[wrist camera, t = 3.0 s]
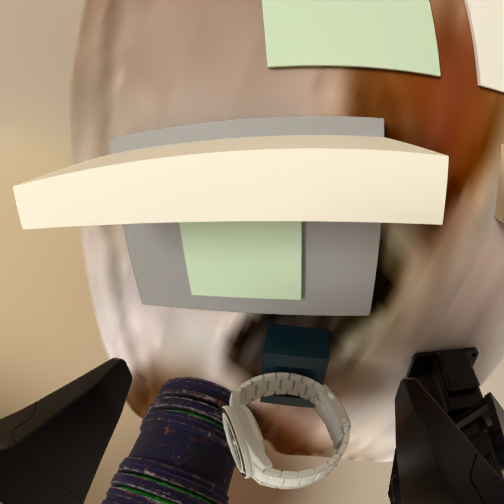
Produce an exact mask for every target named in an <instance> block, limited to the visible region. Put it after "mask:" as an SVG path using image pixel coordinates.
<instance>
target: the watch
mask: <svg viewBox="0 0 504 504" xmlns="http://www.w3.org/2000/svg"><path fill="white" fill-rule="evenodd" d="M328 362H329V330H327V329H316V328H305V327H295V326H285V325H276V324H270V325H269V329H268V334H267V338H266V342H265V347H264V351H263V364H262V375H260V376H257V377H254V378H252V379H251V381H250V380H248V381H246V382H245V383H243V384H242V385H240V387H238V388H237V389H236V390H235V391H234V392H232V393H231V396H230V402H229V406H227V405H226V406H223V407H222V418H223V424H224V429H225V433H226V437H227V441H228V444H229V447H230V450H231V453H232V455H233V458H234V460H235V463H236V465H237V467H238V469H239V471H240V472H241V474H242V475H243V476H244V478H250V477H252V478H253V479H254V480H256V481H257V482H258V483H259V484H261V485H264V486H268V487H272V488H277V487H278V488H279V489H293V487H294V488H301V487H305V486H308V485H311V484H313V483H315V482H317V481H319V480H321V479H322V477H325V476H326V475H328V474H329V473H330V472H331V471H332V470H333V468H334V467H335V466H336V465H337V463H338V461H339V460H340V458H341V456H342V454H343V453H344V451H345V449H346V447H347V444H348V442H349V433H350V427H351V423H350V421H349V418H348V416H347V413H346V411H345V409H344V408H343V406H342V404H341V402H340V401H339V400H338V398H337V397H336V396H335V394H334V393H333V392H332V391H331V390H330V389H329V387H328V386H327V385H326V384H324V385H322V384H323V381H324V377H325V373H326V369H327V366H328ZM259 398H260V402H265V403H272V404H281V405H290V406H300V407H311V408H314V410H315V411H316V412H317V413H318V415H319V416H320V417H321V419H322V420H323V422H324V423H325V425H326V427H327V429H328V432H329V434H330V437H331V440H332V441H333V443H334V449H337V452H336V454H335V455H334V456H333V457H332V458H331V459H329V460H328V462H327V463H326V462H325V463H323V464H321V465H319V466H317V467H315V469H308V470H302V471H299V474H298V472H297V471H283V472H282V474H281V471H280V470H276V469H272V468H270V467H272V463H271V461H270V460H269V458H268V457H267V452H266V447H265V444H264V440H263V437H262V434H261V431H260V428H259V426H258V424H257V421H256V419H255V417H254V415H253V414H252V412H251V411H250V410H249V408H248V407H247V405H248V404H249V403H251V400H252V401H254V400H257V399H259Z"/></svg>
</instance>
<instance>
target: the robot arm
mask: <svg viewBox="0 0 504 504" xmlns="http://www.w3.org/2000/svg"><path fill="white" fill-rule="evenodd" d="M477 356H478V350H477V348H467V349H458V350H448V351H436V352H423V353H417V354H415V355H414V356H413V358H412V361H411V364H410V367H409V370H408V372H407V375H406V378H405V379H402V380H401V382H400V385H399V388H398V391H397V394H396V397H395V421H396V449H395V454H394V461H393V468H392V473H391V479H390V485H389V491H388V495H389V498H390V502H391V504H504V410H503V409H502V407H501V406H500V404H499V403H498V402H497V400H496V399H495V398H494V396H493V395H492V393H491V392H489V393H488V394H487V395H485V397H484V398H483V396H482V393H481V391H480V388H479V385H480V383H479V381H478V379H477V376H476V374H475V372H474V369H473V367H472V366H473V364H474V362H475V360H476V358H477ZM419 358H420V359H419ZM131 383H132V375H131V372H130V370H129V368H128V366H127V364H126V362H125V361H124V360H123V359H119V358H112V359H110V360H109V361H107V362H105V363H103V364H102V365H100V366H98V367H97V368H95V369H93V370H91V371H90V372H88V373H86V374H85V375H83V376H81V377H79V378H77V379H76V380H74V381H72V382H70V383H69V384H67V385H65V386H63V387H62V388H60V389H58V390H56V391H54V392H53V393H51V394H49V395H47V396H46V397H44V398H42V399H40V400H39V401H36V402H35V403H33V404H31V405H29V406H28V407H25V408H24V409H22V410H20V411H17V412H15V413H13V414H11V415H9V416H6V417H4V418H2V419H0V504H84V501H85V498H86V496H87V493H88V491H89V488H90V486H91V483H92V481H93V478H94V476H95V474H96V471H97V469H98V466H99V464H100V462H101V459H102V457H103V455H104V452H105V450H106V448H107V445H108V443H109V441H110V438H111V436H112V434H113V432H114V429H115V427H116V425H117V423H118V420H119V418H120V415H121V413H122V410H123V406H124V403H125V401H126V398H127V395H128V392H129V389H130V386H131Z"/></svg>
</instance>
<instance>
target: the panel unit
mask: <svg viewBox="0 0 504 504" xmlns="http://www.w3.org/2000/svg"><path fill="white" fill-rule="evenodd" d="M109 146H110V154H109V155H106V156H102V157H99V158H95V159H92V160H88V161H85V162H82V163H78V164H75V165H72V166H69V167H66V168H63V169H60V170H57V171H54V172H51V173H48V174H45V175H42V176H40V177H37V178H34V179H32V180H29V181H26V182H23V183H21V184H18V185H16V186H13V189H14V194H15V198H16V204H17V208H18V212H19V216H20V220H21V224H22V228H23V229H33V228H34V229H35V228H51V227H68V226H88V225H110V224H123V229H124V233H125V238H126V243H127V247H128V251H129V255H130V260H131V264H132V268H133V272H134V276H135V279H136V283H137V287H138V291H139V294H140V298H141V301H142V304H145V305H155V306H165V307H176V308H188V309H200V310H213V311H228V312H244V313H264V314H288V315H327V316H370V310H371V304H372V297H373V290H374V283H375V276H376V268H377V260H378V251H379V241H380V230H381V223H411V224H437V225H442V223H443V216H444V207H445V198H446V188H447V175H448V157H449V156H446V155H443V154H440V153H437V152H434V151H431V150H428V149H425V148H421V147H418V146H415V145H411V144H408V143H404V142H401V141H397V140H393V139H389V138H385V137H384V118H368V117H345V116H289V117H265V118H249V119H236V120H225V121H215V122H206V123H198V124H190V125H183V126H176V127H169V128H163V129H157V130H151V131H146V132H140V133H135V134H130V135H125V136H120V137H116V138H111V139H109Z"/></svg>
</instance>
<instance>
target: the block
mask: <svg viewBox="0 0 504 504" xmlns="http://www.w3.org/2000/svg"><path fill="white" fill-rule="evenodd" d="M494 217H495V218H496V219H498V220H499V221H500V222H502V223H503V224H504V144H501V163H500V176H499V186H498V194H497V202H496V209H495V215H494Z"/></svg>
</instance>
